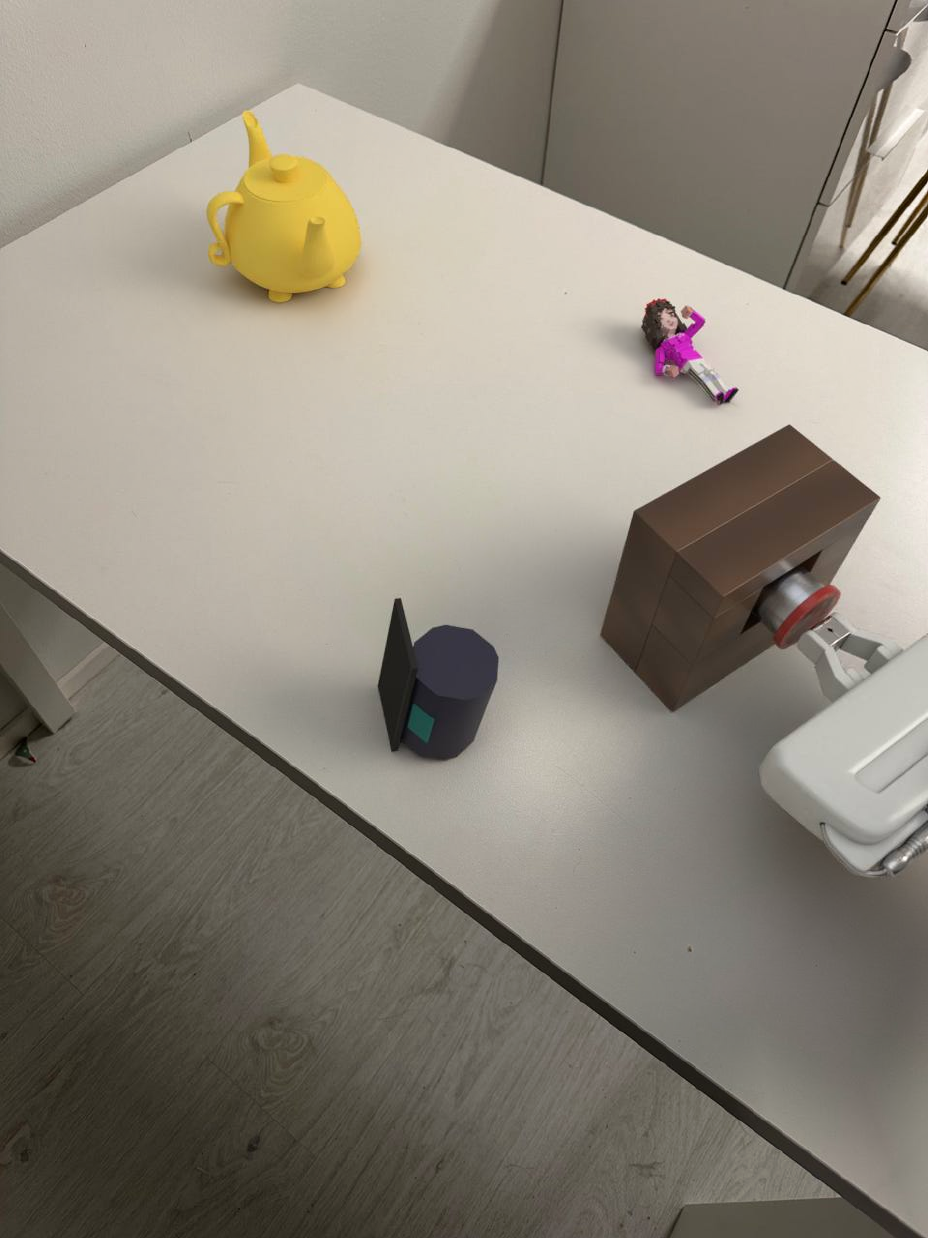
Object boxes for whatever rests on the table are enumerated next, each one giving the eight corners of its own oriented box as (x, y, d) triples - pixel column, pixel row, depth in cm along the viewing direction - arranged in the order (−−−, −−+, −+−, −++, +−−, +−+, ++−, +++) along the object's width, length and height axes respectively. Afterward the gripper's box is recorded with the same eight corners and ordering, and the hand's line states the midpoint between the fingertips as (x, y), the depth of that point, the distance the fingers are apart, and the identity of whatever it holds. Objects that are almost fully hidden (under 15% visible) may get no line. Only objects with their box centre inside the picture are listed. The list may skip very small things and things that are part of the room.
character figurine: (741, 402, 87) (663, 316, 91) (761, 362, 82) (677, 274, 86) (693, 425, 85) (615, 337, 89) (710, 386, 80) (628, 295, 85)
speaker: (362, 755, 64) (372, 670, 55) (377, 684, 67) (388, 595, 59) (473, 774, 64) (498, 693, 56) (482, 703, 68) (507, 617, 59)
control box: (808, 621, 72) (881, 497, 60) (672, 713, 67) (723, 596, 55) (734, 553, 75) (789, 423, 64) (599, 634, 70) (633, 510, 59)
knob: (823, 624, 64) (852, 578, 59) (769, 661, 62) (795, 616, 57) (780, 585, 65) (805, 537, 61) (726, 619, 64) (748, 572, 59)
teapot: (186, 236, 97) (160, 124, 87) (322, 204, 101) (311, 93, 91) (249, 354, 87) (227, 242, 77) (397, 313, 91) (394, 202, 81)
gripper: (852, 914, 53) (684, 733, 59) (1067, 730, 60) (897, 586, 66) (899, 875, 48) (709, 681, 54) (1127, 679, 55) (937, 528, 61)
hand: (814, 627), depth 60 cm, fingers closed
